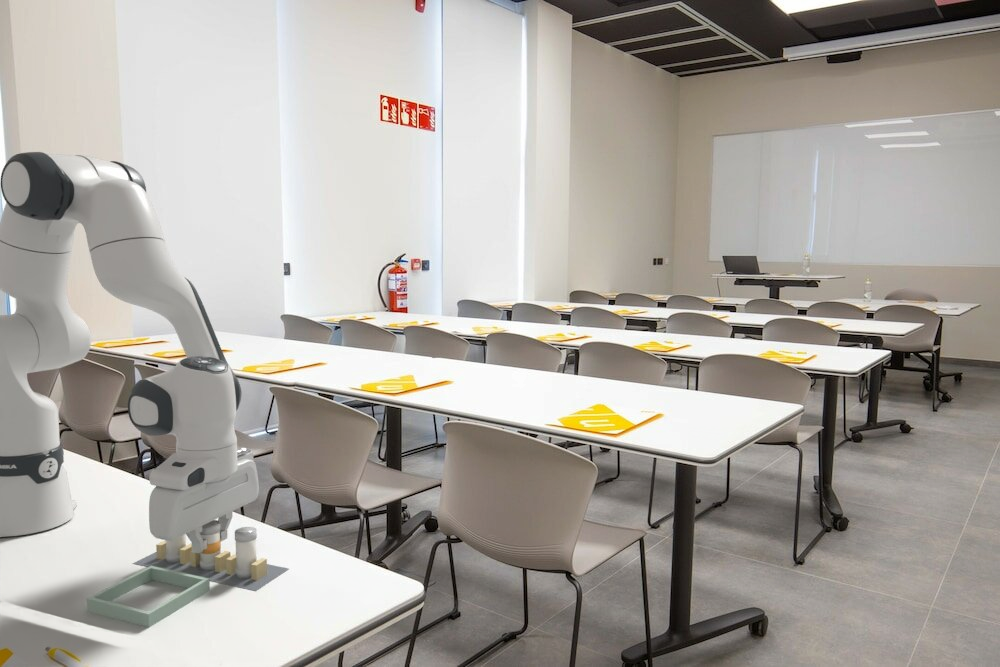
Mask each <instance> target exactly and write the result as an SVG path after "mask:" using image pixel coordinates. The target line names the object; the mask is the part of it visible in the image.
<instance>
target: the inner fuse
mask: <svg viewBox="0 0 1000 667" xmlns="http://www.w3.org/2000/svg"><path fill="white" fill-rule="evenodd" d="M164 541H166V553H165V558H166V562H168V563H177V562H180V551H179V549H181V548H183V547H185V546H187V535H186V534H184V535H182V536H180V537H178V538H176V539H174V540H172V541H168V540H164Z"/></svg>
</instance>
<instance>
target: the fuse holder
mask: <svg viewBox="0 0 1000 667" xmlns="http://www.w3.org/2000/svg"><path fill="white" fill-rule="evenodd" d="M155 546H156V547H155V549H156V550H155V551H156V552H153V553H151V554H149V555H146V556H144V557H143V558H141V559H139V560H137V561H134V562H133V563H132V565H133V564H134V565H136V566H141V567H145V568H148V567H150V566H155V567H159V568H164V569H168V570H173V571H177V572H182V573H186V574H191V575H195V576H200V577H204V578H209V579H210V582H213V583H217V584H222V585H227V586H231V587H235V588H240V589H245V590H248V591H253V592H258V591H259V590H260V589H262V588H264V587H265V586H266V585H267V584H269V583H270V582H272V581H273V580H275V579H277V578H279V576H282V575H283V574H285V572H287V571H288V570H290V568H287V567H284V566H283V567H282V566H277V565H274V564H273V565H272V564H269V563H268V559H267V558H263V557H260V558H259V559H258V560H257V561H256V562H254V563H252V564H251V578H238V577H236V553H234V554H231V551H230V550H224V551H222V552H221V553H220V554H218V555H217V556H215V570H209V571H205V570H201V569H200V553H195V552H193V551H192V543H189V544H186V546H185V547H183V548H181V549H179V551H180V562H177V563H168V562H166V558H165V553H166V541H165V540H162V541H161V542H159V543H156V545H155Z"/></svg>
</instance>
